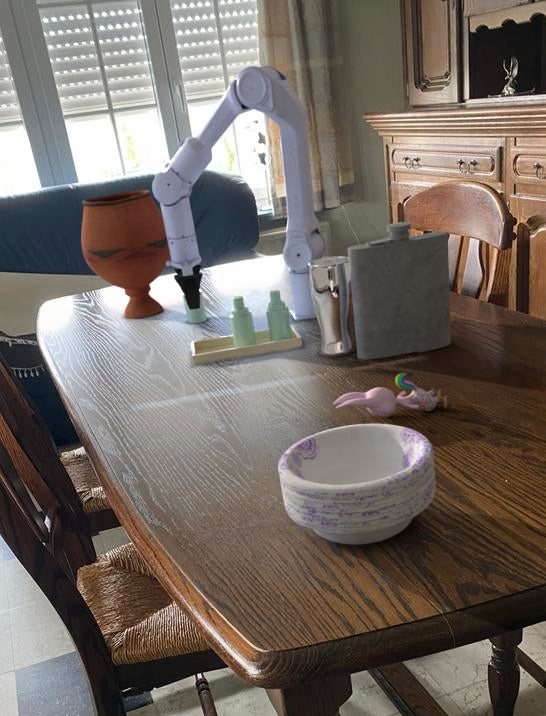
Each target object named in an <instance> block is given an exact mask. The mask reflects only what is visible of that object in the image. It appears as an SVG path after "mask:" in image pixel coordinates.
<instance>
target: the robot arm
mask: <svg viewBox="0 0 546 716" xmlns="http://www.w3.org/2000/svg"><path fill="white" fill-rule="evenodd" d="M252 110H254V111H257V112H260V113H262V114H264V115H265V116H266V117H268V118H269V119H270V120H272V121H273V122H274V123H275V124H276V125H277V126H278V132H279V140H280V141H279V142H280V152H281V159H282V160H281V162H282V170H283V181H284V190H285V192H284V193H285V201H286V213H287V224H286V228H285V236H286V238H285V244H284V247H283V250H282V257H283V261H284V263H285V264H286V265H287V267H288V273H289V275H288V276H289V283H290V291H291V297H292V298H291V299H292V305H293V309H290V310H289V313H290V314H291V316H292V317H293V319H294V321H301V320H308V319H314V318H317V315H316V312H315V308H314V304H313V300H312V295H311V287H310V267H309V263H310V262H311V261H313V260H316V259H320V258H323V256H324V254H325V252H326V248H327V247H326V246H327V244H326V240H325V238H324V235H323V234H322V232H321V228H320V222H319V220H318V218H317V216H316V214H315V203H314V190H313V189H314V187H313V178H312V165H311V153H310V140H309V129H308V117H307V115H308V114H307V110H306V107H305V105H304V103H303V102H302V100H301V99H300V98H299V96H298V94H297V92H296V91H295V90H294V88H293V87H292V85H291V83H290V80H289V78H288V76H287V75H285V74H284V73H283V72H281V71H280V70H278V69H277V68H276V67H274V66H271V65H264V66H256V65H250V66H247V67H245V68H243V69H242V70H241V71H240V72H239V74H238V76H237V78H236V79H234V80H233V81H232V82H231V83H230V84H229V85H228V87H227V89H226V91H225V92H224V94H223V95H222V97H221V98H220V101H218V103H217V104H216V106H215V107H214V109H213V111H212V113H211V114H210V116H209V117H208V119H207V121H205V123H204V125H203V126H202V128H201V130H200V131H199V133H198V134H197V136H188V137H187V138H186V139H181V140H180V142H179V143H178V144H177V146H178V147H179V149H178V150H177V152H176V153H175V154H174V157H172V159H171V160H170V161H167V162H166V163H165V164H164V168H165V171H161V172H158V173H157V174H155V176H154V179H153V181H152V184H151V190H152V194H153V197H154V198H155V199H156V201H158V203H159V204H160V209H161V214H162V215H163V220H164V225H165V231H166V236H167V240H168V245H169V250H170V255H171V257H170V260H169V261H166V265H167V266H166V267H174V268H173V270H174V272H175V273H176V274H174V275H173V278H174V280H175V282H176V283H177V285H178V286H179V288H180V289H181V291H182V295H183V294H184V297H185V299H186V302H187V305H188V307H189V309H190V310H193V309H199V308H200V290H201V283H202V278H203V272H201V268H202V264H201V262H202V257H201V255H200V252H199V246H198V241H197V235H196V229H195V224H194V219H193V213H192V208H191V202H190V196H191V194H192V192H193V186H194V185H195V183H196V182H197V180H199V178H200V177H201V175H203V173H204V171H205V170H206V168H208V166H209V165H210V163H211V162H212V160H213V147H214V146H215V145H216V144H217V142H218V141H219V140H220V139H221V137H222V136H223V135H224V134H225V133H226V131H227V130H228V129H229V128H230V126H231V125H232V124H233V122H234V121H235V120H236V119H237V117H238V116H240V115H242V114H245V113H247V112H249V111H252Z"/></svg>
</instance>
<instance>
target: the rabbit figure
mask: <svg viewBox="0 0 546 716" xmlns="http://www.w3.org/2000/svg"><path fill="white" fill-rule="evenodd" d="M407 376H408V373H406V372H400V373H398V374H397V375H396V376H395V381H394V383H395V385H396V387H398V388H399V389H401V390H403V391H401V392H400V393H399V394H398V395H397V397H396V396H395V394H394V392H393V391H392V390H391V389H389V388H386V387H381V386H380V387H374V388H372V389H370V390H368V391H366V392H361V391H360V392H359V391H358V392H357V391H353V392H348V393H344V394H342V395H340V396H339V397H338V398H337V399H336V400H335V401H334V402H333V405H334V406H336V407H335V409H342V408H344V407H347V406H360V407H364V408H366V409H367V411H368V412H369V413H371V414H372V415H375V416H378V415H379V416H381V417H382V418H384V417H385V418H389V417H390V416H393V415H394V414H395V412H396V408H397V407H400V408H402V409H404V410H408V411H409V410H411V409H412V410H413V409H414V410H418V411H423V412H431V411H433V410H435V408H436V406H437V405H438V403H440V402H441V401H443V408H444V409H445V410H446V409H447V408H448V406H447V405H448V398H447V397H448V395H447V394H446V395H445V397H443V396H441V391H442V388H440V389H439V390H438V391H436V390H435V389H434V388H432V389H431V390H429V391H426V390H425V389H423V388H420V387H417V386H416V385H415V384H414V382H412V381H409V380H405V379H404V378H405V377H407ZM405 390H412V391H411V393H409V395H406V394H407V392H406V391H405ZM434 394H435V395H436V396H434ZM405 395H406V396H405Z"/></svg>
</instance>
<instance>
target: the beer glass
mask: <svg viewBox="0 0 546 716" xmlns="http://www.w3.org/2000/svg"><path fill="white" fill-rule="evenodd" d="M309 267H310V287H311V295H312V300H313V304H314V308H315V312H316V315H317V317H316V318H317V322H318V325H319V329H320V330H319V331H320V337H321V341H320V342H321V343H320V353H321V354H322V355H325V356H330V357H331V356H332V357H334V356H336V357H337V356H343V355H344V356H345V355H348V354H351V353H353V352H355V351H357V345H356V340H355V337H354V334H353V316H354V312H353V301H352V290H351V279H350V268H349V256H344V255H342V256H341V255H336V256H335V255H334V256H326V257H322V258H320V259H316V260H313V261H311V262H310V263H309Z"/></svg>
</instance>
